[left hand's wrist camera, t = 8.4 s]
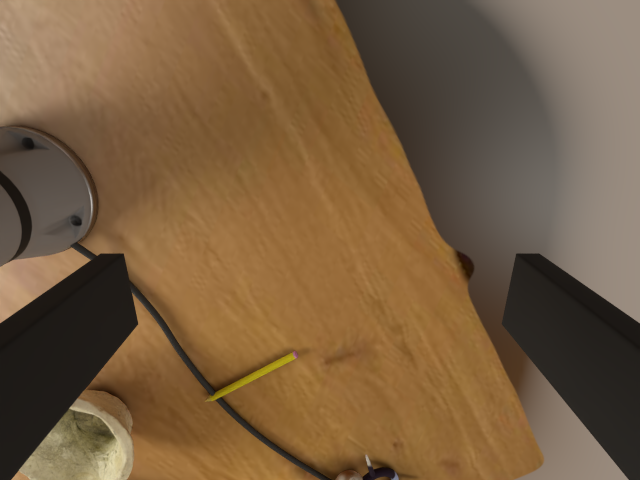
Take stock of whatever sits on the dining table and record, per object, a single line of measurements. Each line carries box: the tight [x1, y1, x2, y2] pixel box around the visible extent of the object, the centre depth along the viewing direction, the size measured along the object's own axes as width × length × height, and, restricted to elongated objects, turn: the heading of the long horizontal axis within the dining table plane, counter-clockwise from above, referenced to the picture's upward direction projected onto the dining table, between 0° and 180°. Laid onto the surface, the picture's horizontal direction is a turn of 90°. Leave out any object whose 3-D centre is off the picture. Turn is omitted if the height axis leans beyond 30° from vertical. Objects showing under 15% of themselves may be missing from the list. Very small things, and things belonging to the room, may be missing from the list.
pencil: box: [204, 351, 298, 402], centre depth 54 cm, size 16×1×1 cm, turn 122°
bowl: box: [19, 390, 134, 480], centre depth 50 cm, size 14×18×15 cm
